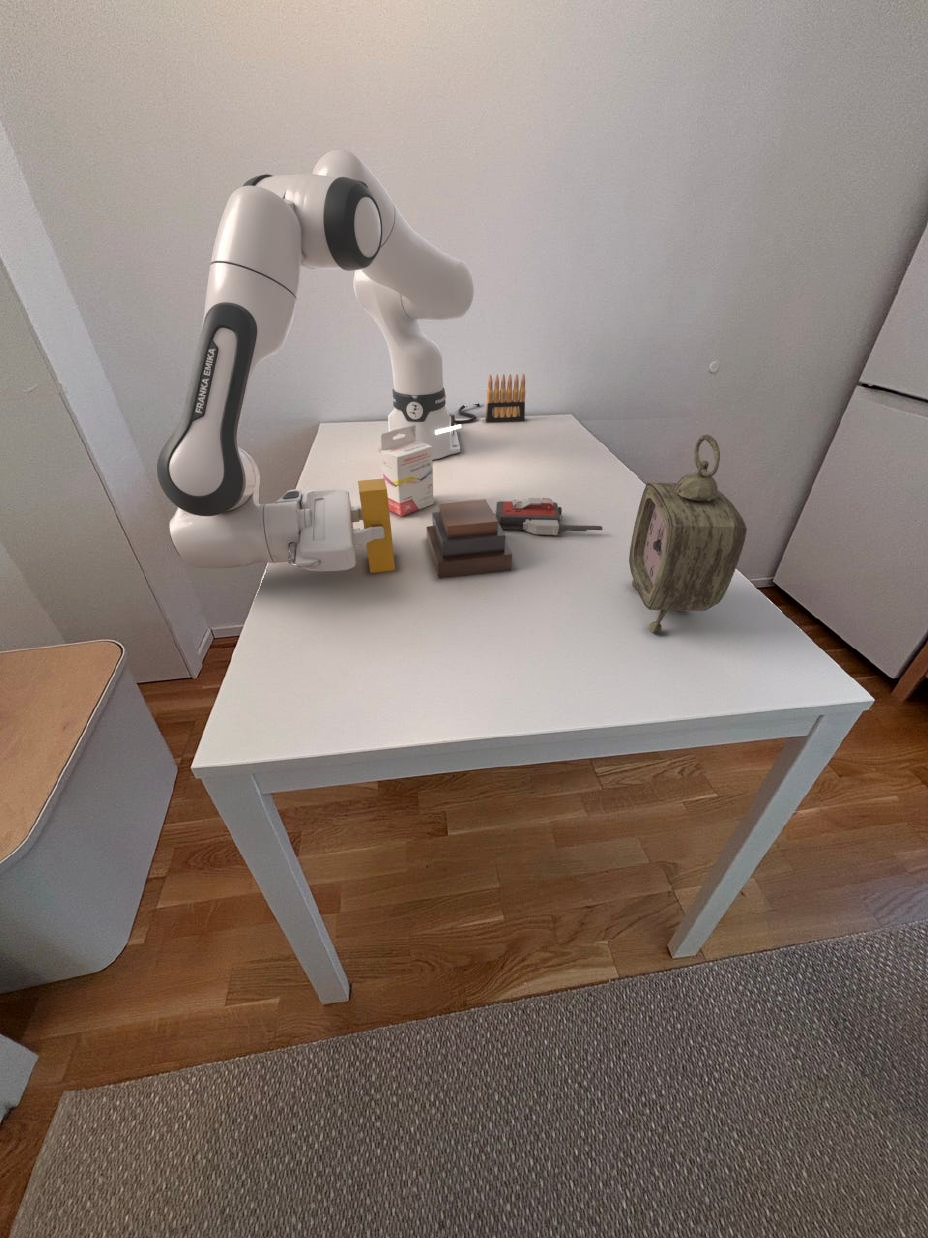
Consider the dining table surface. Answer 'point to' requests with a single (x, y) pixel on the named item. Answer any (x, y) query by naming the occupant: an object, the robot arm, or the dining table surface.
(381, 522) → the bar
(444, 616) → the dining table surface
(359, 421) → the dining table surface
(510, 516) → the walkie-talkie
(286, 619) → the dining table surface
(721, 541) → the tabletop clock
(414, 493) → the ink cartridge box
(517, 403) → the ammunition clip
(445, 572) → the stacked square slabs
